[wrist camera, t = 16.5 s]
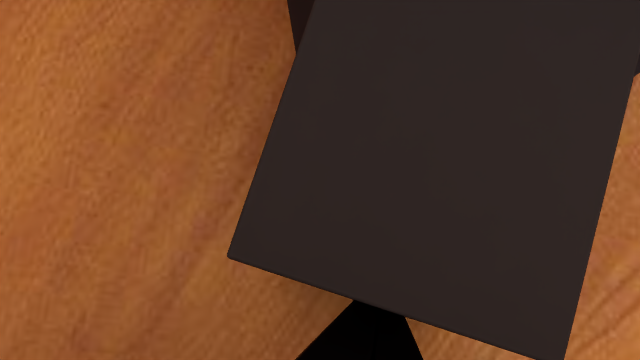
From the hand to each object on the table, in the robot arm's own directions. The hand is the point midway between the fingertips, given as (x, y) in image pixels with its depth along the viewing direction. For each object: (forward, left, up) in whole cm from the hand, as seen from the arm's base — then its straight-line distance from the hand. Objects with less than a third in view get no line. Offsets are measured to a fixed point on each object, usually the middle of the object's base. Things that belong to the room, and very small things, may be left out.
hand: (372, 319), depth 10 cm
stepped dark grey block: (+3, -3, -7) cm, 8 cm away
